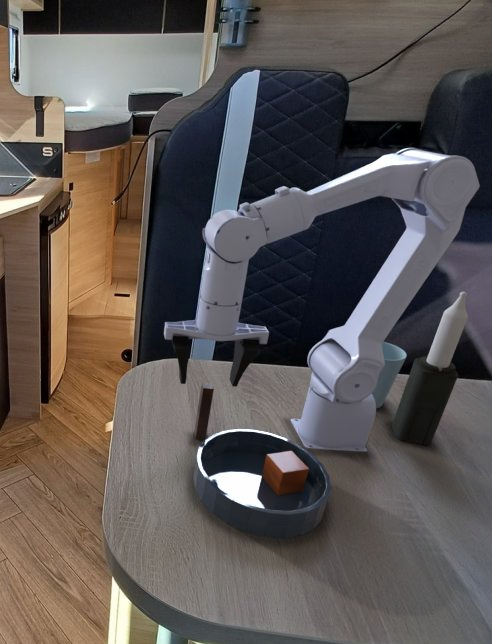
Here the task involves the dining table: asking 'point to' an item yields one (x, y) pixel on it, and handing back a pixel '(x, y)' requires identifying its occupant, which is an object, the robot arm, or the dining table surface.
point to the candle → (431, 381)
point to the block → (285, 472)
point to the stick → (203, 411)
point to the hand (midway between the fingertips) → (207, 381)
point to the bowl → (257, 484)
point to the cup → (388, 371)
